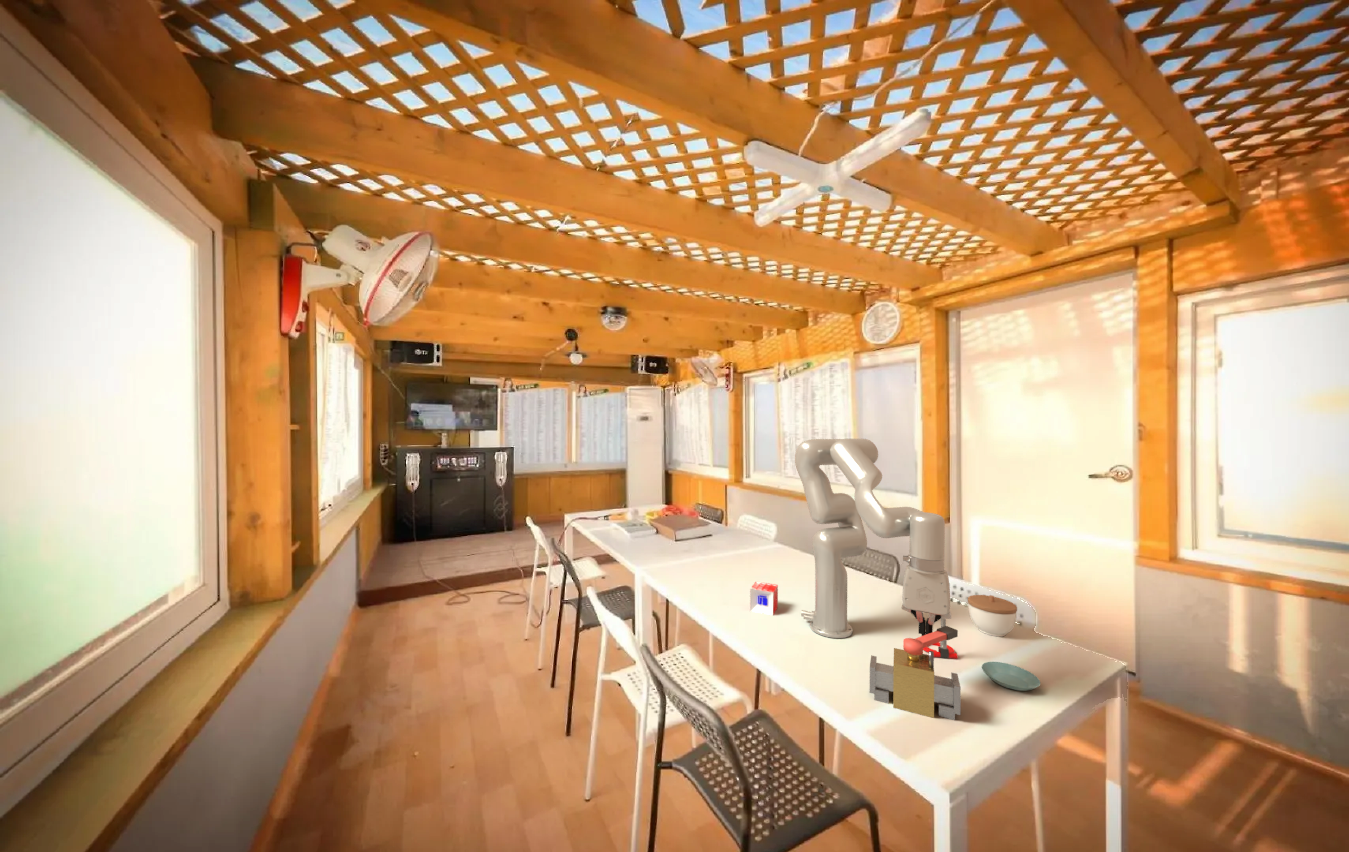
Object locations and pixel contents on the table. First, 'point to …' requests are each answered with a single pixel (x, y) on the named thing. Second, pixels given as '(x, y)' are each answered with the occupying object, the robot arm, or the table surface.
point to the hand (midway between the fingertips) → (925, 637)
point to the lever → (928, 640)
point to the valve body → (915, 685)
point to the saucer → (1011, 676)
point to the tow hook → (943, 647)
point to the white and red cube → (764, 598)
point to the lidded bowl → (992, 614)
